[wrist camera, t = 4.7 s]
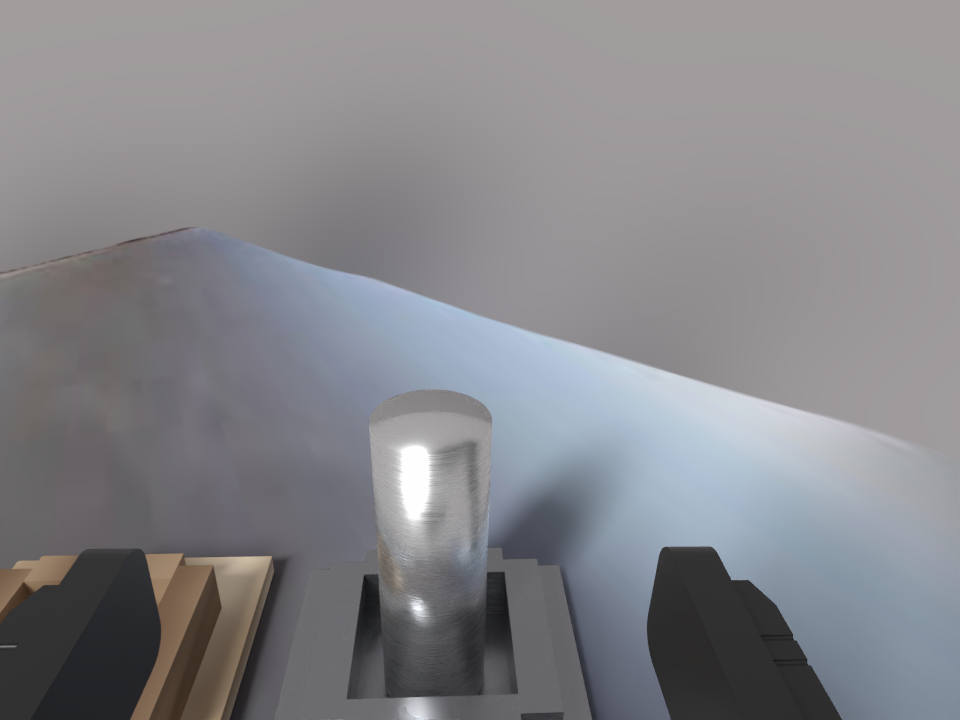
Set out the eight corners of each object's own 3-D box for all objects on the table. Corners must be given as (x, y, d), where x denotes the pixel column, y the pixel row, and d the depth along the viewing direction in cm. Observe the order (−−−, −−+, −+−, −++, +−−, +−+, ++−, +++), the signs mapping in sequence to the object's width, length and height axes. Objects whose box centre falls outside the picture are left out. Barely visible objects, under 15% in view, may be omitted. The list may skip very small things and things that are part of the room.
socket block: (557, 580, 34) (563, 524, 33) (611, 839, 23) (622, 774, 22) (311, 585, 33) (305, 528, 32) (250, 855, 23) (235, 789, 21)
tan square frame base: (274, 571, 34) (265, 515, 33) (177, 892, 22) (156, 825, 20) (23, 576, 34) (3, 519, 32) (-225, 909, 21) (-278, 842, 20)
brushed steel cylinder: (481, 632, 30) (488, 389, 24) (486, 716, 26) (496, 453, 21) (388, 634, 30) (374, 389, 24) (380, 719, 26) (363, 454, 21)
